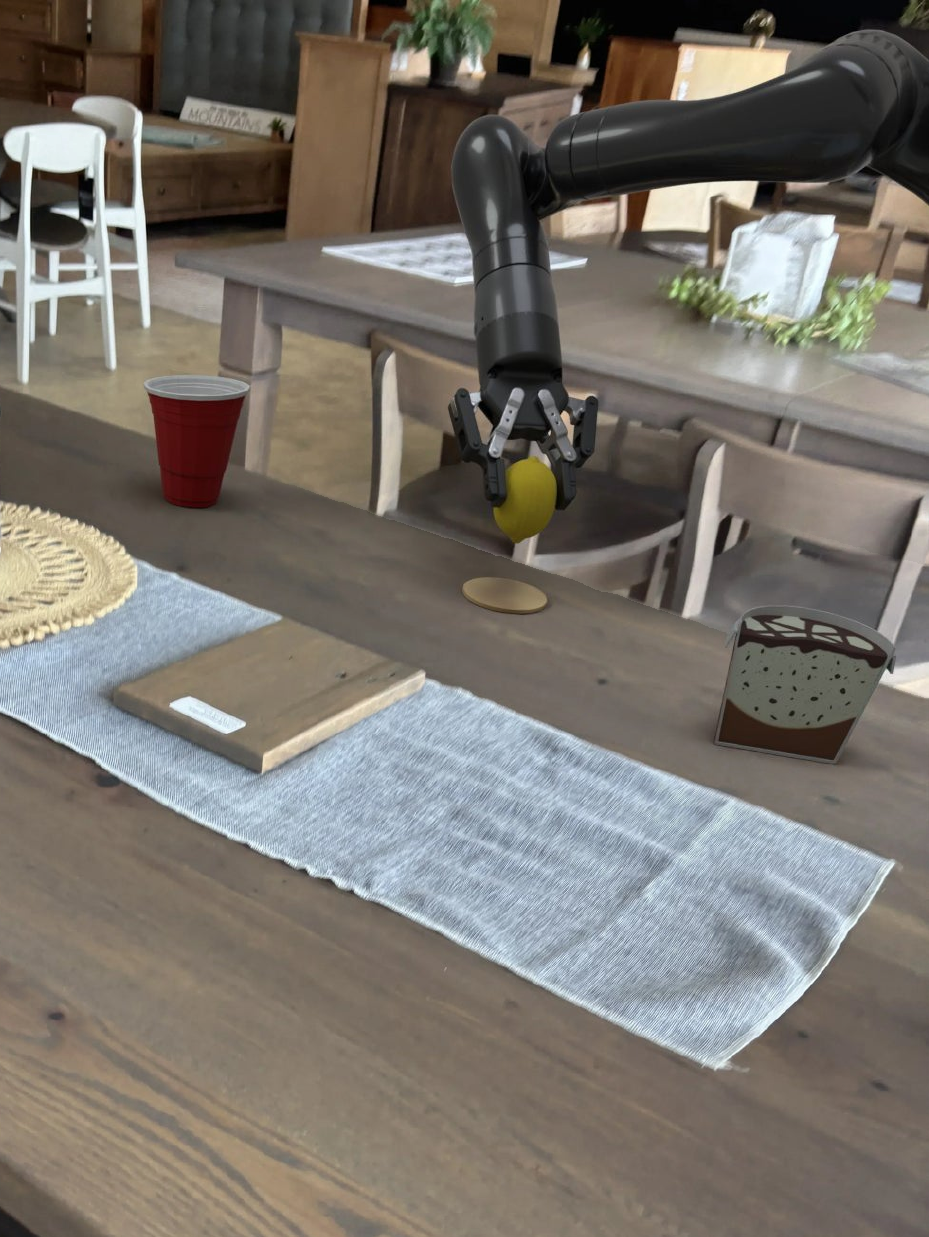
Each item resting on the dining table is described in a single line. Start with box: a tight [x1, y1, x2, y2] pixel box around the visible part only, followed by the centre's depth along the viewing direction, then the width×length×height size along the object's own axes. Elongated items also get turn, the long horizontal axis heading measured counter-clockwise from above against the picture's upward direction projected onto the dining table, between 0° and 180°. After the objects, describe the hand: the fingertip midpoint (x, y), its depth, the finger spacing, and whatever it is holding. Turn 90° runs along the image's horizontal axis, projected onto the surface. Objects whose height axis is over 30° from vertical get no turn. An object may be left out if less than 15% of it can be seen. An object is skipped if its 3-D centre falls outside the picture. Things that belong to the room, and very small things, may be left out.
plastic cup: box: [142, 374, 251, 509], centre depth 139 cm, size 11×11×12 cm
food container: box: [713, 604, 897, 765], centre depth 104 cm, size 12×6×10 cm, turn 79°
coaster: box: [461, 576, 548, 615], centre depth 127 cm, size 8×8×1 cm
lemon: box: [493, 455, 557, 544], centre depth 122 cm, size 6×6×8 cm
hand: (531, 504), depth 120 cm, fingers closed on lemon, 5 cm apart
